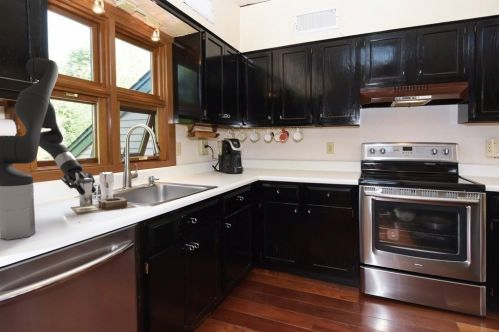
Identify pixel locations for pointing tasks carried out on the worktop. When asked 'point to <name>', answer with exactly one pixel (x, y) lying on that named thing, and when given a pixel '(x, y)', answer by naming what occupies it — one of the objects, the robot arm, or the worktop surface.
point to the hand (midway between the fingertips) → (89, 192)
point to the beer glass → (106, 184)
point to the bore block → (104, 206)
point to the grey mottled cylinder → (86, 192)
